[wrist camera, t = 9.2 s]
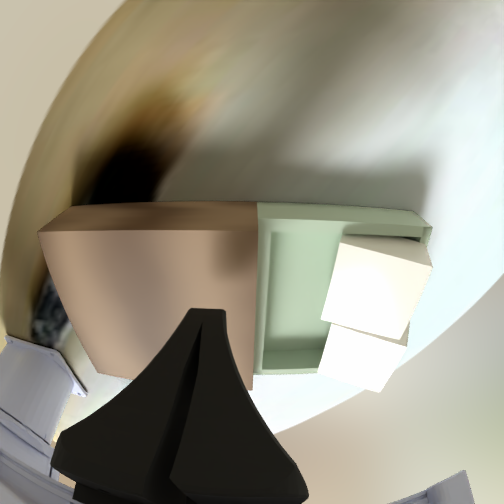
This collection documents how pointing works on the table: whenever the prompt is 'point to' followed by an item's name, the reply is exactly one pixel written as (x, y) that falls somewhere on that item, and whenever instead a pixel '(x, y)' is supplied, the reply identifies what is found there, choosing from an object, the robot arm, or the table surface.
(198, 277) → the board
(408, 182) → the table surface
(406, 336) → the tile
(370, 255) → the tile
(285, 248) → the tray
